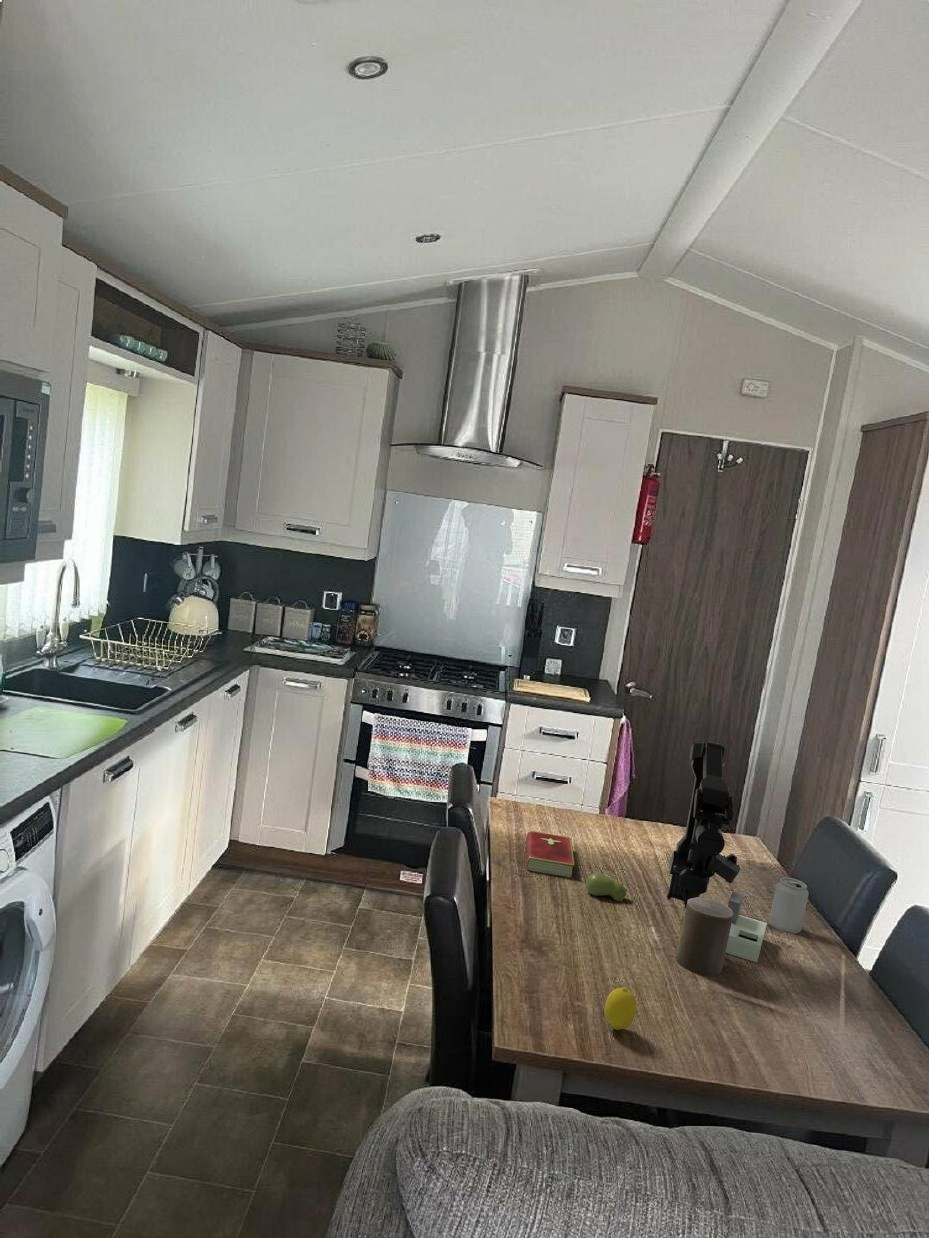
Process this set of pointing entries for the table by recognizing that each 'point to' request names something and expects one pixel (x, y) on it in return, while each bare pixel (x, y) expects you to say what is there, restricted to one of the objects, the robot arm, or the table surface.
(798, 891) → the can
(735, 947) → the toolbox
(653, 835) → the table surface
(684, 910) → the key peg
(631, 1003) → the lemon
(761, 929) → the green slotted base
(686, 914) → the pillar candle
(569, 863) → the hardcover book
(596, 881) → the pear
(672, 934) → the table surface
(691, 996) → the table surface
